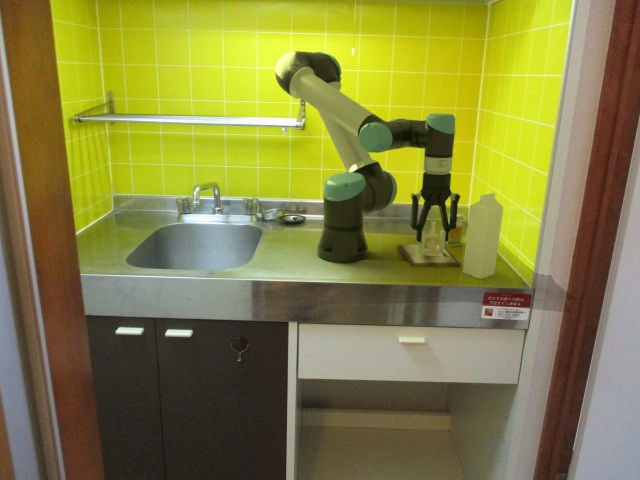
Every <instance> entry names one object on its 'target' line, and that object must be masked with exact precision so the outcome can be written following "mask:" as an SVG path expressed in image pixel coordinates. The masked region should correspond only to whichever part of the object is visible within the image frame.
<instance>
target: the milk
mask: <svg viewBox="0 0 640 480" xmlns="http://www.w3.org/2000/svg"><path fill="white" fill-rule="evenodd" d="M503 212H504V206H503V205H502V204H501V203H500V202H499V201H498V200H497V199H496V193H495V192H493V193H486V194H481V195H480V200H479V201H477V202H474V203H472V204H470V205H469V212H468V222H467V228H466V229H467V230H466V236H465V237H466V238H465V239H466V240H465V248H464V257H463V266H462V273H463V274H466V275H468V276H470V275H471V276H470V277H473V278H476V279H478V278H479V279H478V280H482V278H483V279H485V278H484V277H486V278H488V277H487V276H489V277H491V275H492V276H494V275H495V273H496V272H495V271H496V266H497V257H498V250H499V243H500V236H501V226H502V220H503ZM493 274H494V275H493Z"/></svg>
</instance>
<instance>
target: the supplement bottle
mask: <svg viewBox="0 0 640 480" xmlns="http://www.w3.org/2000/svg"><path fill="white" fill-rule="evenodd" d="M447 217H448V222H449V223H450V213H448V214H447ZM461 220H462V214H460V213H457V223H456V228H455V229H451V230H450V232H449V236H448V241H447V242H445V245H446V246H450V247H458V246H460V245H461V243H462V235H463V227H464V224H463V222H462V221H461Z"/></svg>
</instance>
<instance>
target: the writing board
mask: <svg viewBox="0 0 640 480" xmlns="http://www.w3.org/2000/svg"><path fill="white" fill-rule="evenodd" d="M426 244H427V243H424V249H428V247H426ZM436 245H437V248H435V249H437V250H439V243H436ZM397 248H398V249H399V251H400V252H401V253H402V255H403V257H404V258H405V259H406V261H407V262H408V264H409V266H410V267H411V268H430V267H431V268H433V267H436V268H438V267H442V268H444V267H448V268H449V267H461V266H462V264H461V262H459V260H458V259H457V257H455V256H454V255H453V253H451V251H449V249H447V248H446V246H444V254H441V253H440V255H438V256H427V255H424V254H421V253H420V252H419V243H418V244H409V243H408V244H398V245H397Z"/></svg>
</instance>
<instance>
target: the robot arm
mask: <svg viewBox="0 0 640 480" xmlns="http://www.w3.org/2000/svg"><path fill="white" fill-rule="evenodd" d="M274 75H275V79H276V82H277V84H278V86H279V87H280V88H281V89H282V91H284V92H285V93H287V94H288V95H290V96H291V97H292V98H294V99H297V100H299V99H301V100H303V101H304V102H306V103H307V104H308V105H310V106H311V107H313V108H314V109H316V110H317V112H318V113H319V116H320V118H321V120H322V122H323V124H324V126H325V128H326V131H327V133H328V135H329V137H330V139H331V141H332V143H333V145H334V148H335V150H336V152H337V153H338V155H339V158H340V160H341V163H342V164H343V167H344V169H345V170H346V171H345V172H344V173H342V172H339V173H335V174H332V175H330V176H328V177H327V178H326V179H325V180H324V187H323V192H322V193H323V226H322V227H323V229H322V231H321V234H320V237H319V241H318V242H317V247H316V254H317V256H318V257H319V256H320V258H321V259H323V258H324V259H323V260H325V259H327V260H326V261H329V262H334V261H335V263H355V262H359V261H363V260H365V259H366V258H367V257H368V255H369V245H368V242H367V238H366V236H365V231H364V219H365V218H364V216H365V215H369V214H371V213H374V212H378V211H379V212H380V211H382V210H384V209H385V208H388V207H389V206H391V205H392V204H393V203H394V202H395V199H396V198H397V194H398V184H397V180H396V178H395V177H394V175H393V174H391V172H388V171H387V170H383V168H382V166H381V164H380V162H379V161H378V160H375V159H373V158H372V156H371V155H370V153H373V154H374V153H378V154H379V153H383V152H388V151H392V150H398V149H405V148H414V149H424V154H423V156H424V159H423V169H422V170H423V171H424V172H423V173H422V183H421V184H422V187H421V189H420V191H419V192H417V193H412V192H411V194H410V198H411V201H412V203H411V211H410V212H411V213H410V214H411V215H410V225H409V226H410V227H411V229H412V230H414V231H416V235H415V240H416V242H417V243H418V244H419V252H420V253H421V254H424V244H425V242H426V241H425V238H426V231H425V230H424V227H425V225H426V221H427V218H428V217H429V216H428V215H429V213H430V210H431V209H432V207H433V206H438V209H439V214H440V218H441V223H442V228H440V230H439V241H438V244H439V251H440V252H441V254H444V246H445V242H447V241H448V236H449V232H450V230H451V229H455V228H456V223H457V214H458V207H459V206H458V204H459V202H460V199H461V195H460V194H459V193H457V192H452V190H451V183H452V174H451V171H452V169H453V156H454V153H453V152H454V144H455V143H454V142H455V135H456V132H457V131H456V116H455V115H454V114H452V113H441V112H440V113H438V112H437V113H428V114H427V116H426V119H425V120H418V119H406V118H393V119H392V118H391V120H389V121H386V120H384V119H382V118H381V117H379V116H378V115H376V114H375V113H373V112H372V111H370V110H369V109H367V108H366V107H364V106H362V105H361V104H360V103H359V102H357V101H355V100H353V98H350V97H349V96H348V95H346V94H344V93H343V92H342V91H341V88H342V82H341V81H342V76H341V75H342V67H341V64H340V63H339V61H338V59H336V58H335V57H334V56H333V55H332V54H329V53H325V52H323V51H322V52H321V51H316V52H313V51H311V52H310V51H299V50H292V51H287V52H286V53H285V54H283V55H282V56H281V57H280V58H279V59H278V61H277V63H276V66H275V70H274ZM421 199H423V200H424V202H423V207H422V209H421V213H420V216H419V201H421ZM448 199H449V200H450V209H449V214H450V223H449V222H448V220H449V219H448V212H447V206H446V202H447V200H448ZM418 216H419V218H418ZM445 247H446V246H445Z"/></svg>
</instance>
